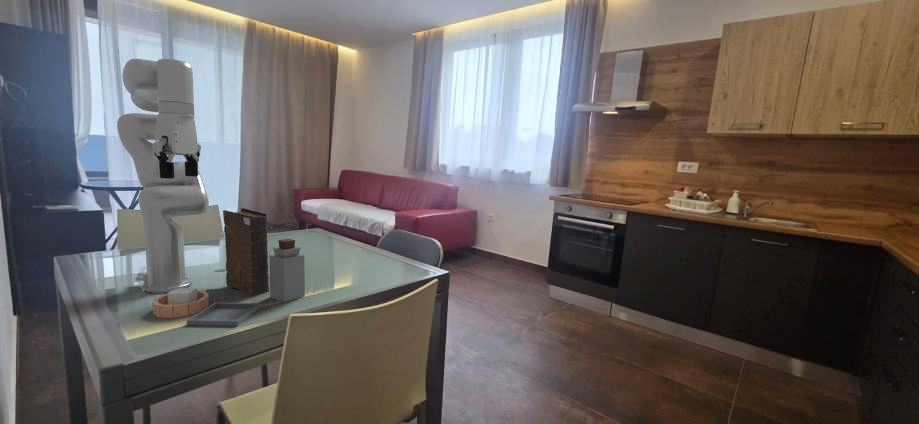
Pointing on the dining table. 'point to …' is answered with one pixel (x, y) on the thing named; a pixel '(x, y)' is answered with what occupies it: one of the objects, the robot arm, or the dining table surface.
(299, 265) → the perfume bottle
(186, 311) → the terracotta bowl
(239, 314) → the tray
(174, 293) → the white cube
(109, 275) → the dining table surface
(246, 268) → the book
